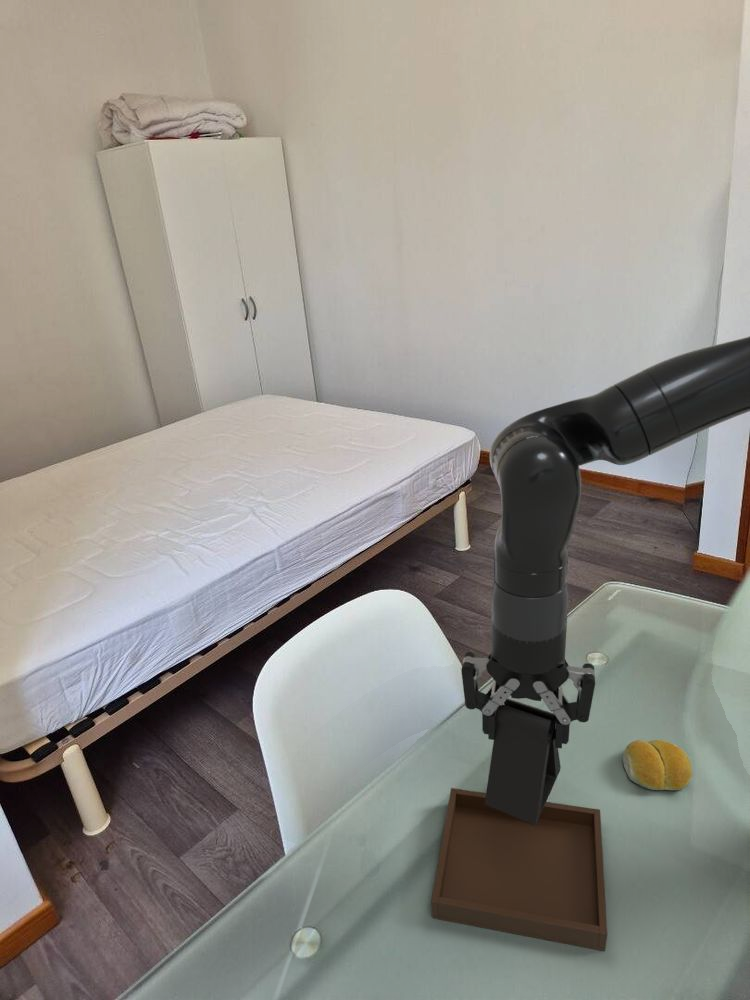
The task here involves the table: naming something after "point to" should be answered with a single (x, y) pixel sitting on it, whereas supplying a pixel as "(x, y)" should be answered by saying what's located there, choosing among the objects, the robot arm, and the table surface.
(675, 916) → the table surface
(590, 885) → the tray
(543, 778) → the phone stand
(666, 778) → the bread roll
